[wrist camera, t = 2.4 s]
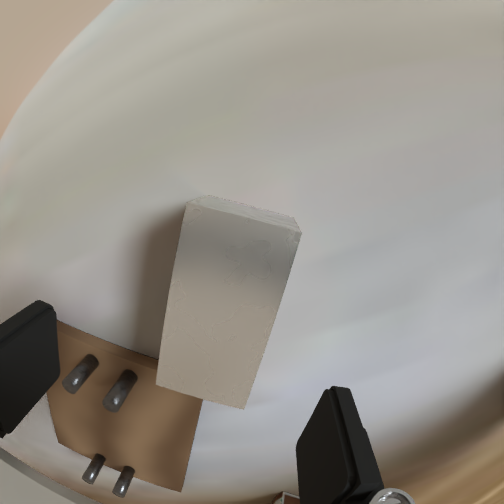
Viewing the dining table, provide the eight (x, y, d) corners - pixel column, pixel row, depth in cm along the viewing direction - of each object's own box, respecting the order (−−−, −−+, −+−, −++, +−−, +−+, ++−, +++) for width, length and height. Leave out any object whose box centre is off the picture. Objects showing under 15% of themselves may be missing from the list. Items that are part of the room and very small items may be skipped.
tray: (208, 375, 21) (205, 385, 19) (183, 483, 24) (180, 492, 23) (45, 314, 21) (37, 320, 19) (63, 436, 24) (58, 442, 23)
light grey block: (293, 217, 18) (301, 232, 13) (250, 361, 20) (243, 409, 15) (209, 194, 18) (187, 202, 13) (178, 341, 20) (155, 384, 15)
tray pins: (138, 372, 20) (118, 402, 16) (135, 474, 23) (124, 498, 20) (85, 351, 20) (60, 376, 16) (95, 457, 23) (82, 480, 20)
